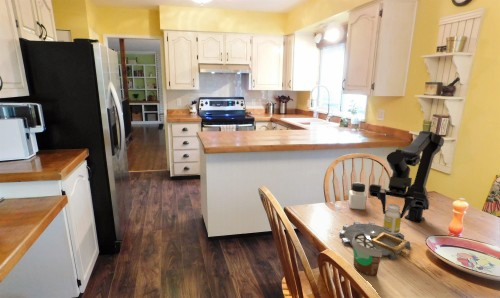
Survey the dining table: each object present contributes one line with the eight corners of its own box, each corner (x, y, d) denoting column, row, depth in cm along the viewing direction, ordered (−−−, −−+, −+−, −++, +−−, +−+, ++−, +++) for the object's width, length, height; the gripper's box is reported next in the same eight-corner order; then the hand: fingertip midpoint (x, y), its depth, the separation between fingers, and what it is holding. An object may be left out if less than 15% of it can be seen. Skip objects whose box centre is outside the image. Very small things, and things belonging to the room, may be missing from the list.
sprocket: (359, 219, 128) (360, 212, 127) (420, 242, 109) (422, 234, 109) (326, 238, 112) (327, 230, 111) (391, 269, 93) (392, 259, 93)
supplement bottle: (398, 228, 106) (401, 204, 104) (400, 235, 101) (403, 210, 99) (382, 226, 108) (384, 202, 106) (383, 233, 103) (386, 208, 101)
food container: (343, 257, 100) (346, 231, 98) (360, 256, 100) (363, 230, 98) (360, 280, 88) (363, 251, 86) (379, 279, 88) (382, 250, 86)
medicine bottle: (365, 209, 138) (367, 186, 136) (350, 208, 140) (352, 185, 137) (362, 204, 145) (365, 181, 142) (348, 202, 146) (350, 180, 144)
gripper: (372, 163, 108) (362, 200, 102) (429, 172, 98) (423, 213, 91) (374, 177, 116) (365, 212, 110) (427, 186, 106) (421, 225, 99)
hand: (392, 215), depth 102 cm, fingers closed on supplement bottle, 5 cm apart
